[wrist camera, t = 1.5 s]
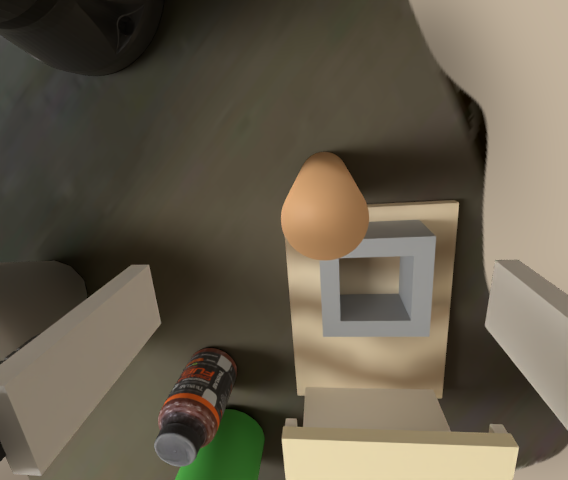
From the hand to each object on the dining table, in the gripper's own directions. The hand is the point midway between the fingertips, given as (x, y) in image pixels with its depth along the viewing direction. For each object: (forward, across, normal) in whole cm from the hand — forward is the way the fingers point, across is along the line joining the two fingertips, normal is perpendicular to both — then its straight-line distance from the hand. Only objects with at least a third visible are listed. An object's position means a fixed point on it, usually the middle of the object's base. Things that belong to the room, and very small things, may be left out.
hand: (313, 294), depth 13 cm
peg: (+21, +1, +1) cm, 21 cm away
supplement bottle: (+21, -13, -21) cm, 32 cm away
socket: (+19, +5, -8) cm, 21 cm away
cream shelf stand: (+19, +5, -18) cm, 27 cm away
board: (+20, +5, -12) cm, 24 cm away
